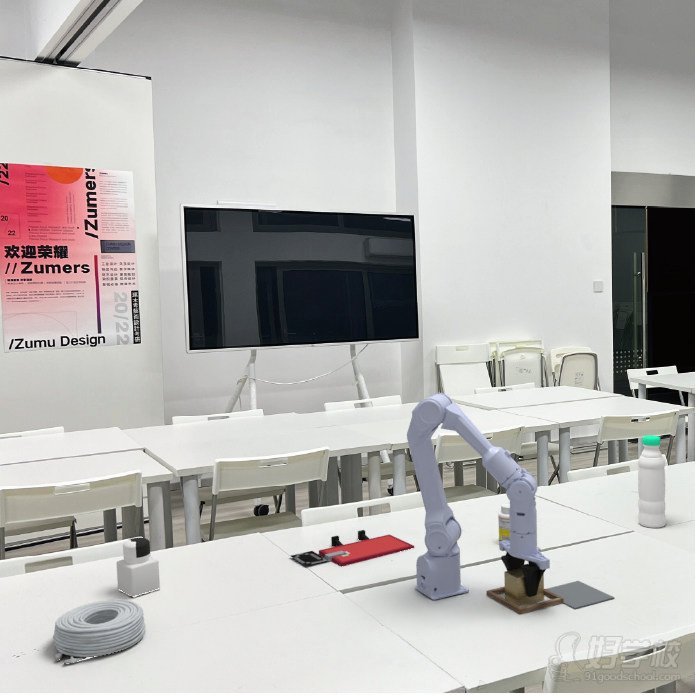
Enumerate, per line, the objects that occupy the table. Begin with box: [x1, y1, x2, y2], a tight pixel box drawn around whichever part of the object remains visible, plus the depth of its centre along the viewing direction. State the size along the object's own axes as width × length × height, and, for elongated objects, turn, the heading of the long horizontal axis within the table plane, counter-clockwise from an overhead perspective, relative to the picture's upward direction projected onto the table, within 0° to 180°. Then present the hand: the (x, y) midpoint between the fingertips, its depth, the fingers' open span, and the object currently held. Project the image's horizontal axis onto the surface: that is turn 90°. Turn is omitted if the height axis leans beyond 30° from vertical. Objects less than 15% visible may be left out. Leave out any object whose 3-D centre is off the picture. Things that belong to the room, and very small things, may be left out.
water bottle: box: [637, 434, 666, 529], centre depth 212 cm, size 7×7×25 cm
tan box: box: [503, 568, 545, 607], centre depth 165 cm, size 7×4×6 cm, turn 116°
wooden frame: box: [486, 585, 564, 615], centre depth 165 cm, size 12×12×1 cm
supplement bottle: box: [497, 502, 510, 542], centre depth 201 cm, size 6×6×10 cm
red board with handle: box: [290, 529, 415, 568], centre depth 199 cm, size 30×3×15 cm
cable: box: [52, 598, 146, 665], centre depth 152 cm, size 18×18×6 cm
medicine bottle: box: [115, 537, 161, 596], centre depth 177 cm, size 7×7×12 cm
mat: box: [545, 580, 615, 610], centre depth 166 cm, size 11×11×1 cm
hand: (524, 591), depth 165 cm, fingers closed on tan box, 4 cm apart
